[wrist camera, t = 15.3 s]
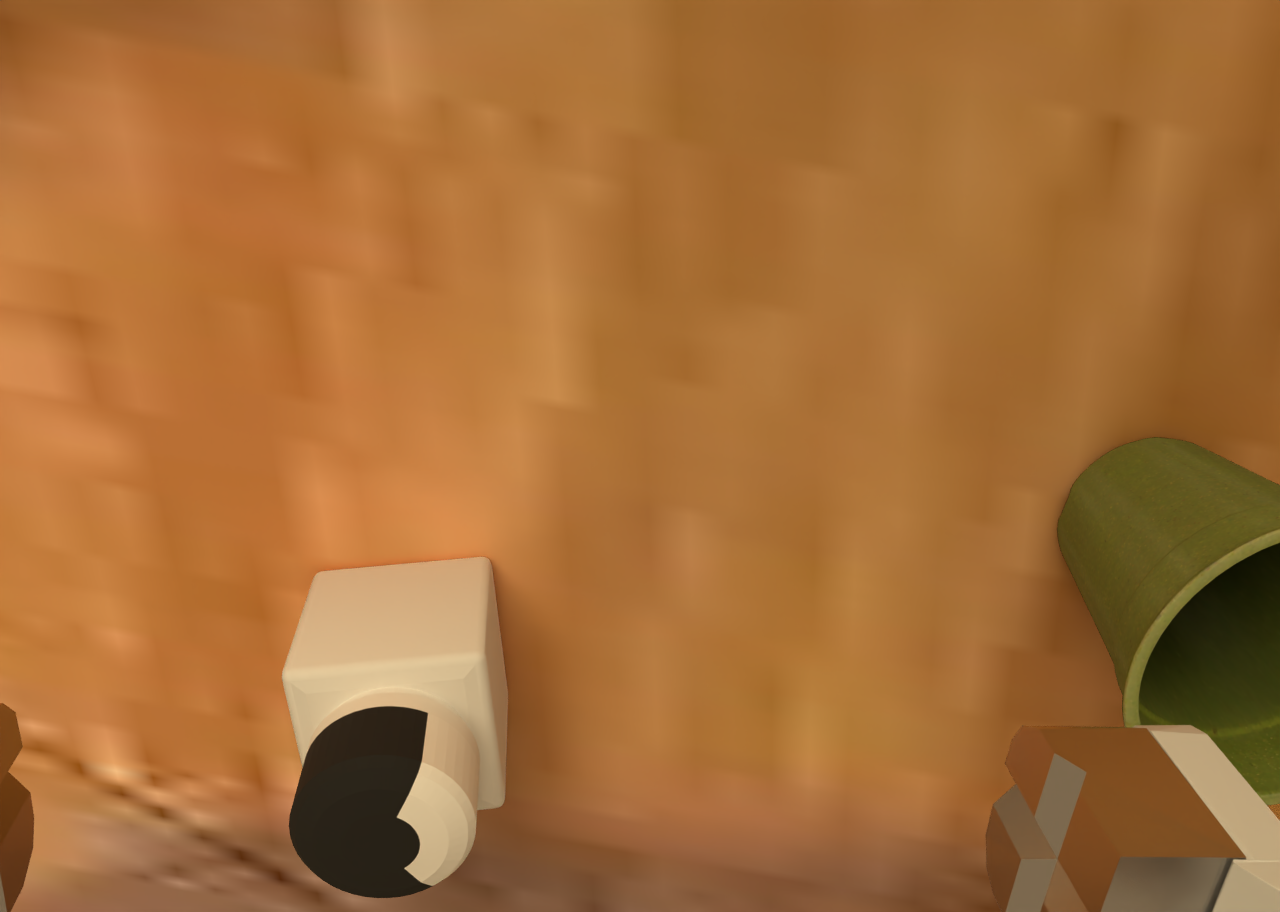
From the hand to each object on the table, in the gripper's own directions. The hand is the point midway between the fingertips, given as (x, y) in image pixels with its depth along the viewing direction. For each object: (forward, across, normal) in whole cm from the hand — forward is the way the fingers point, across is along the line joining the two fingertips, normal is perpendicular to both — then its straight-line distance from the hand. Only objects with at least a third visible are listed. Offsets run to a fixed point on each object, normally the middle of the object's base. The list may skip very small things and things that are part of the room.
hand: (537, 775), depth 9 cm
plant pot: (+33, -26, +14) cm, 45 cm away
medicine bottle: (+33, +4, +21) cm, 40 cm away
